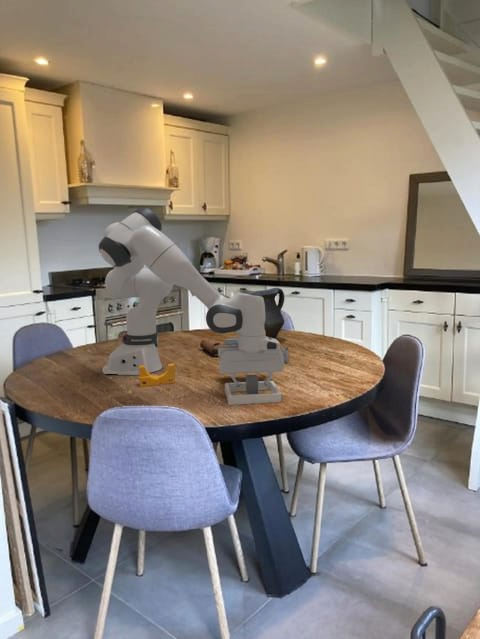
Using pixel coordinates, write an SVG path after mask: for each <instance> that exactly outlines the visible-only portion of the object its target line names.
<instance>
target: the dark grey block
mask: <svg viewBox="0 0 480 639" xmlns="http://www.w3.org/2000/svg"><path fill="white" fill-rule="evenodd" d="M245 382H246V391H245V395H250V394H259V390H258V382H259V376H258V375H257V374H245Z"/></svg>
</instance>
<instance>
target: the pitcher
mask: <svg viewBox="0 0 480 639" xmlns="http://www.w3.org/2000/svg"><path fill="white" fill-rule="evenodd" d="M253 291H254V290H253ZM254 292H257V293H259V294H260V295H261V296H262V297H263V299H264V303H265V323H264V329H265V336H266V337H270V338H274V339H276V340H277V337H278V336H279V334H280V332H281V330H282V329H283V327H284V325H285V319H284V316H283V314H282V312H281V311H282V308H283V306H284V303H285V292H284V291H283V289H282V288H280V287H273V288H272V287H271V288H269V289H264V290H255V291H254ZM277 295H278V302H276V297H277Z"/></svg>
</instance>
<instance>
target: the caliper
mask: <svg viewBox="0 0 480 639" xmlns="http://www.w3.org/2000/svg"><path fill="white" fill-rule="evenodd" d="M280 350H281V352H282V354H283V358H284V363H286V364H288V363H289V362H290V352H289V347H288V346H284V348H280Z"/></svg>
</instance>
